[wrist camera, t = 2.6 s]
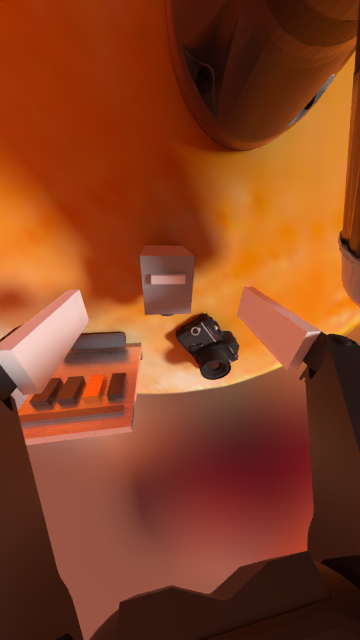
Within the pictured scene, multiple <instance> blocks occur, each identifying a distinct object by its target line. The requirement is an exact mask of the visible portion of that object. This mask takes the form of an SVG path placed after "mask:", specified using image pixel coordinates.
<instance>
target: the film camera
mask: <svg viewBox="0 0 360 640" xmlns="http://www.w3.org/2000/svg"><path fill="white" fill-rule="evenodd" d="M214 323H215V324H214ZM176 338H177V340H178V341H179V342H180V343H181V344H182V346H183V347H184V348H185V349H186V350H187V351H188V352H189V353H190V354H191V355H192V356H193V357H194V358H195V360H196V362H197V363H198V364H199V368H200V372H201V374H202V376H203V377H204V378H206V379H210V380H216V379H220V378H223V377H224V376H226V375H227V374H228V373H229V372H230V370H231V365H230V363H232V362H234V361H236V360H238V355H237V353H238V349H239V345H238V343H237V341H236V338H235V337H234V335H233V334H232V332H230V331H222V329H221V328H220V326H219V325H218V323H217V322H216V321H214V320H213V318H212V317H209V316H208V315H207V313H206V314H205V315H203V316H200V317H199V318H198V319H196V320H195V321H193V322H191V323H190V324H188V325H186V326H185V327H182V329H180V330H178V331H177V332H176Z"/></svg>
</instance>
